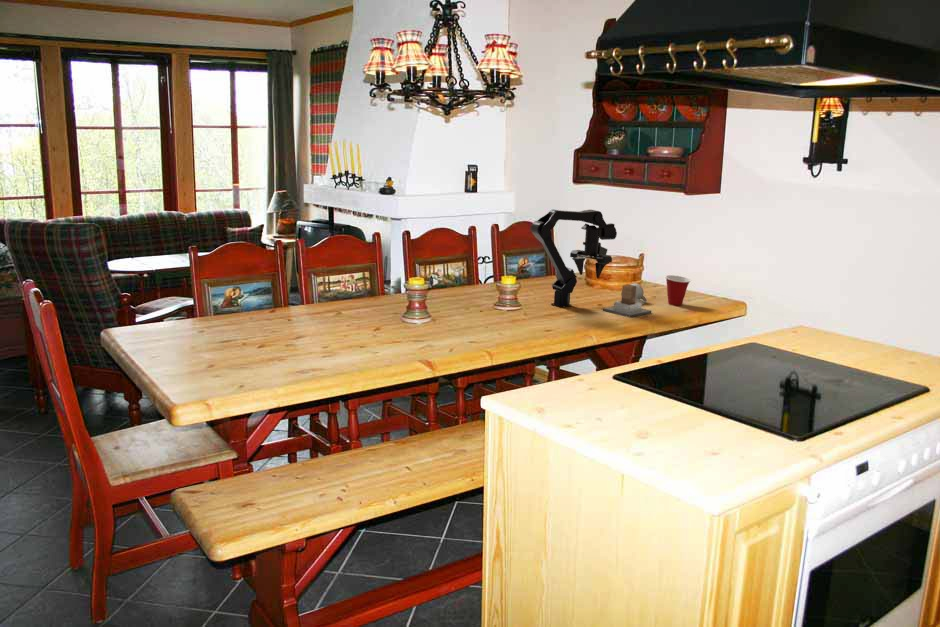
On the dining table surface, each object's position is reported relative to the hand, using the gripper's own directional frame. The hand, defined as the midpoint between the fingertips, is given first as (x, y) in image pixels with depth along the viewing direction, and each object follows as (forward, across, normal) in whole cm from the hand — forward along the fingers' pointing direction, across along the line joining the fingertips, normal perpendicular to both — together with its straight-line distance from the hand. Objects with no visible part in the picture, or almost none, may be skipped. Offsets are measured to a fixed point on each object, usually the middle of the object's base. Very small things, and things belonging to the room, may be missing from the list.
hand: (589, 276), depth 327 cm
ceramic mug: (+12, -9, -21) cm, 26 cm away
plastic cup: (+12, -22, -33) cm, 41 cm away
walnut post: (+11, -19, -3) cm, 22 cm away
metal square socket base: (+12, -19, -3) cm, 23 cm away
